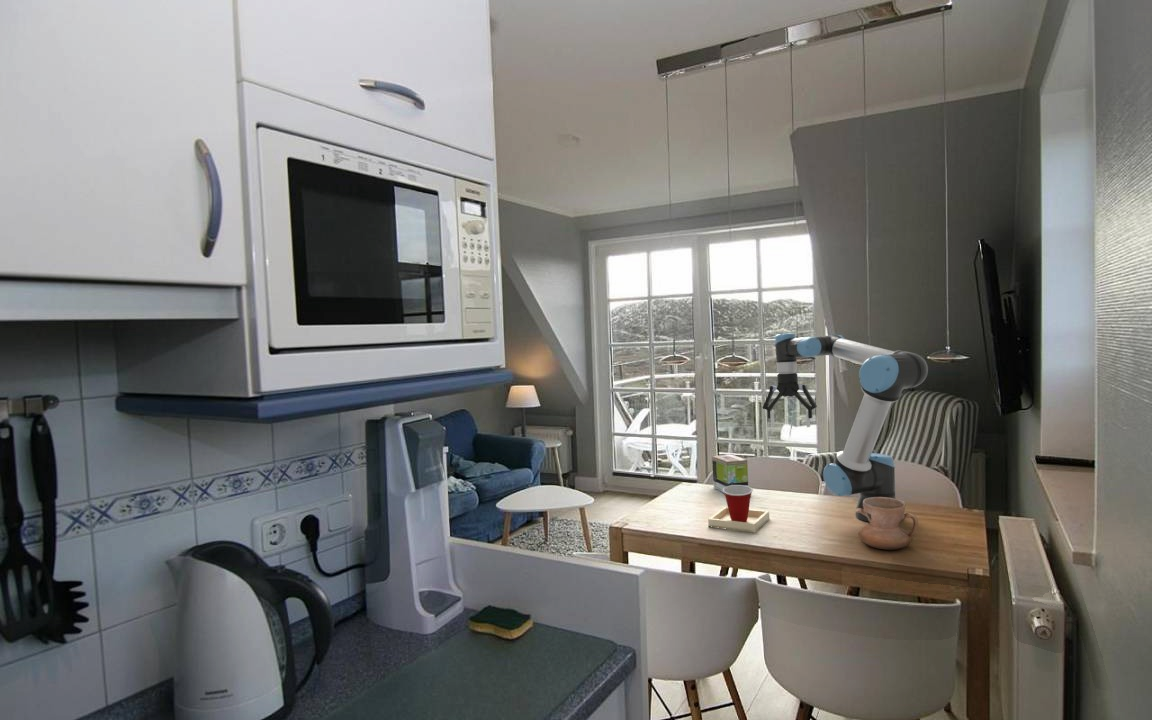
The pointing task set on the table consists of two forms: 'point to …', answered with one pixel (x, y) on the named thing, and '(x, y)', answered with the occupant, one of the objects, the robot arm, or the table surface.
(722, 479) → the tea box
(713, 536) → the table surface
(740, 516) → the plastic cup
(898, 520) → the ceramic jug
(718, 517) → the tray
